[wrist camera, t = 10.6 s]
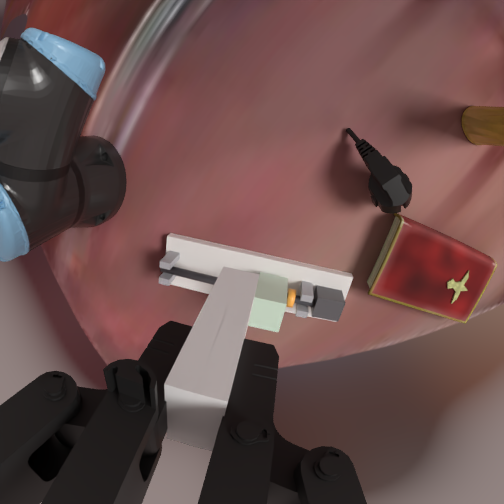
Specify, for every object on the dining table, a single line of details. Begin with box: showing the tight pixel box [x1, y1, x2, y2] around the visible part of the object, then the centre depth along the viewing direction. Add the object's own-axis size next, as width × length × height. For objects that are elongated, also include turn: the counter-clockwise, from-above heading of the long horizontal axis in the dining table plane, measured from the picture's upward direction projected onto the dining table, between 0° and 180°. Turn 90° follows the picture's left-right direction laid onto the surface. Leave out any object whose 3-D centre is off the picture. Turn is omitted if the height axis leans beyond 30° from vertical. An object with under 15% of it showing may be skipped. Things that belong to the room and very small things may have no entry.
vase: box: [462, 106, 504, 146], centre depth 25 cm, size 6×6×14 cm
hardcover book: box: [367, 213, 497, 323], centre depth 39 cm, size 12×21×4 cm, turn 74°
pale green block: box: [248, 272, 288, 332], centre depth 39 cm, size 4×4×7 cm
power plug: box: [346, 128, 412, 214], centre depth 35 cm, size 6×8×12 cm
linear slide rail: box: [159, 233, 353, 322], centre depth 42 cm, size 28×8×6 cm, turn 79°
